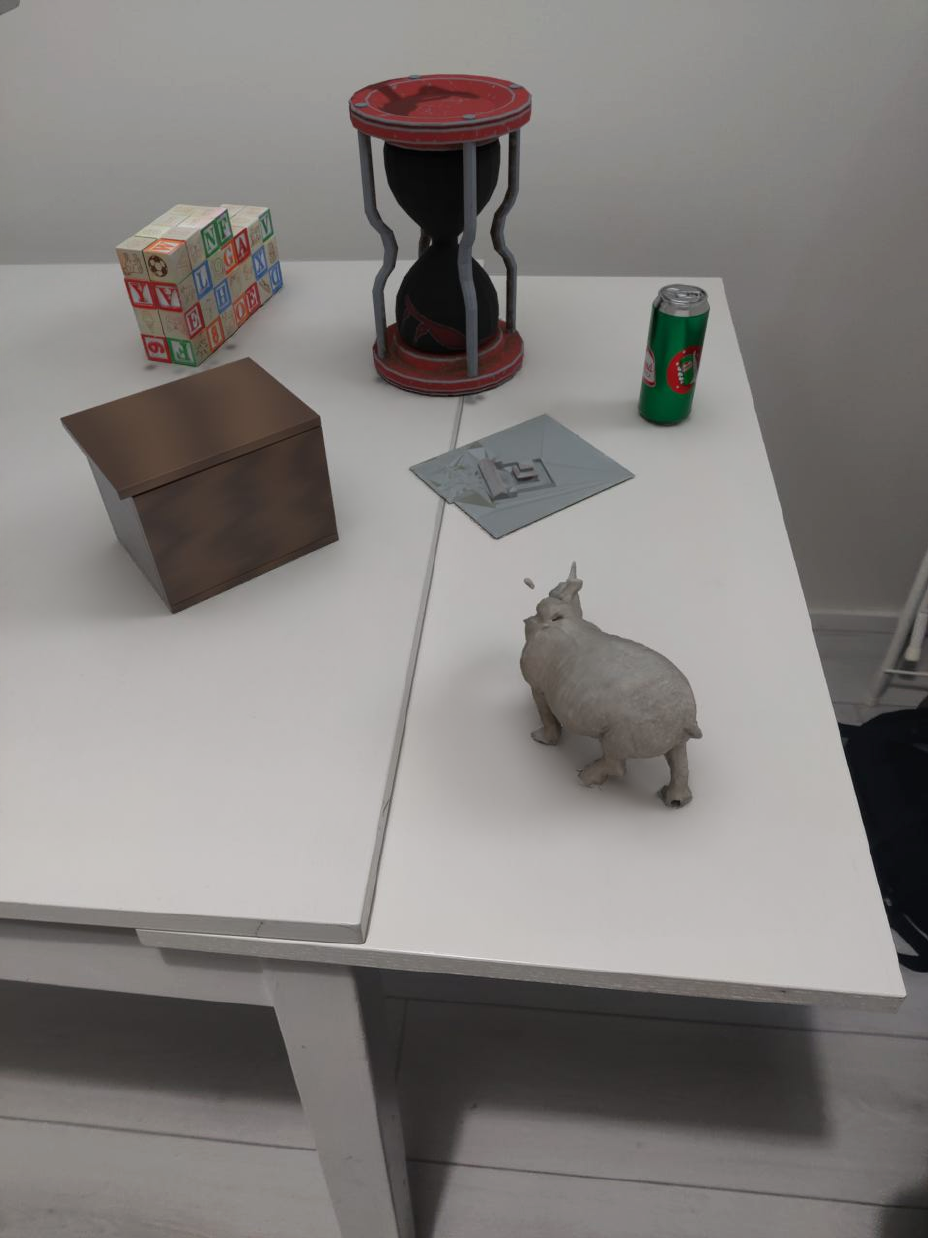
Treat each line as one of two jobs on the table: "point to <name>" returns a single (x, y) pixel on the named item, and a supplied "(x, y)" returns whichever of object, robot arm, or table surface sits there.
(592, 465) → the grey flat relief plate
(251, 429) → the lid
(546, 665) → the rhinoceros figurine
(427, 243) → the hourglass
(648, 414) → the soda can
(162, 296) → the stack of blocks
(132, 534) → the chest
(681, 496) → the table surface
